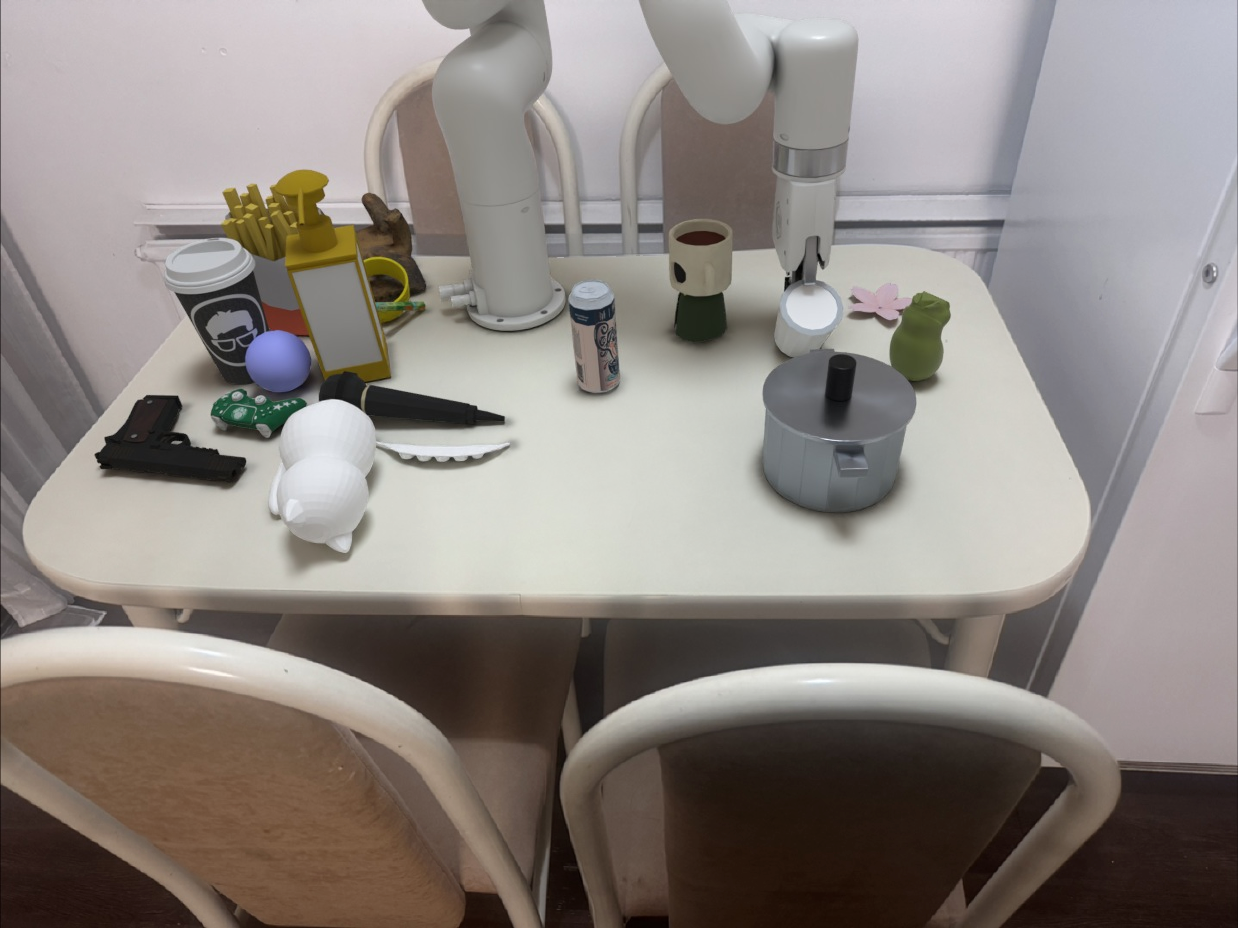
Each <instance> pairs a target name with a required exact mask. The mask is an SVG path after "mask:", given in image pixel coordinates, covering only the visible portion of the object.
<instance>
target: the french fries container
mask: <svg viewBox="0 0 1238 928" xmlns="http://www.w3.org/2000/svg"><path fill="white" fill-rule="evenodd" d="M276 184H277V183H276ZM276 184H272V185H270V186H269V191H270V193H271V195H269V196H266V198H265V202H264V200H263V196H262V194H261V192H260V189H259V187H258V186H259V185H258V184H257V183H250V184H248V185H247V186H246V189H247V192H243V193H241V194H240V195H239V194H238V191H237V188H236V187H227V188H225V189H224V190H223V191H222V195H223V198H224V200H225V202H226V205H227V208H228V210H229V212H228V213H227V214H226V215H225V216H224V221H222V222H221V223H220V225H221V228H222V229H223V231H224V233H225V238H228V239H233V240H235V241H237V242H239V243H240V245H241V246H242V247H243V248H245V249H246V250H247V251H248V252H249V253H250V254H251V255H252V257H253V258H254V260H255V267H254V269H253V271H254V275H255V279H256V283H257V287H258V290H259V294H260V298H261V301H262V305H263V309H264V312H265V316H266V320H267V323H268V327H269V330H271V331H277V330H280V331H285V332H288V333H291V334H294V335H296V336H309V334H308V331H307V328H306V325H305V322H304V319H303V316H302V313H301V311H300V308H299V305H298V302H297V299H296V296H295V293H294V290H293V287H292V285H291V282H290V279H289V276H288V273H287V268H286V267H285V258H286V239H287V236H289V235H295V234H299V233H298V230H297V227H296V224H297V222H298V221H299V213H298V207H296V206H291V205H289V204H288V202H287V200H286V197H285V196H282V195H280V194H277V193H276V191H275V188H274V187H275V186H276ZM265 204H266V205H265ZM320 209H321V208H320ZM320 209H318V211H319V214H321V211H320Z"/></svg>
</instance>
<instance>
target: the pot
mask: <svg viewBox="0 0 1238 928" xmlns="http://www.w3.org/2000/svg"><path fill="white" fill-rule="evenodd" d="M816 352H836V351H835V349H834V348H820V349H816V350H810V353H816ZM907 427H908V425H907V426H906V427H905V428H904V429H903V430H901V431H900V432H898V433H897V434H895V435H893V436H891V437H889V438H887V439H884V440H881V441H878V442H874V443H869V444H863V445H832V444H825V443H820V442H816V441H812V440H808V439H806V438H803V437H800V436H798V435H796V434H794V433H792V432H790V431H788V430H786V429H785V428H783V427H782V426H781V425H779V424H778V423H777V422H776V421H775V420H774V419H773V418H772V417H771V416H770V414H769V413H768V412H767V410H766V409H765V415H764V429H763V446H762V466H763V467H762V469H763V473H764V476H765V478H766V480H767V482H768V484H769V485H770V486H771V487H772V488H773V490H774V491H775V492H776V493H778V495H780V496H781V497H783V498H784V499H785V500H787V501H789V502H791V503H792V504H795V505H797V506H799V507H802V508H805V509H807V510H808V509H809V510H812V511H817V512H822V513H823V512H824V513H840V514H841V513H850V512H857V511H861V510H864V509H867V508H869V507H871V506H874V505H875V504H877V503H879V502H880V501H882V500H883V499H884V498H885V497H886V496H887V495H888V494H889V493H890V492H891V490H892V489H893V486H894V484H895V482H896V481H895V480H896V478H897V473H898V471H899V465H900V461H901V460H900V459H901V456H902V452H903V451H902V450H903V446H904V441H905V436H906V431H907Z"/></svg>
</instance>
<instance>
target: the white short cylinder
mask: <svg viewBox="0 0 1238 928" xmlns="http://www.w3.org/2000/svg"><path fill="white" fill-rule="evenodd" d="M842 300H843V299H842V297H841V296H840V294H839V293H838V292H837V290H836V289H835V288H834V287H832V286H831V285H829V284H828V283H826V282H824V281H821V280H817V279H816V284H815V285H807V286H804V285H803V284H802V280H799V281H797V282H795V283H793V284H791V285H790V286H788V288H787V289H786V290H785V292H784V291H783V293H782V294H781V298H780V301H779V307H778V312H777V317H776V323H775V329H774V333H773V336H774V341H775V345H776V346H777V347H778V349H779V350H780V352H782V353H783V354H785V355H786V356H788V357H789V358H794V357H797V356H800V355H805V354H809V353H810V350H816V349H821V348H822V346H823V345H824V343H825V342H826V341H827V339H828V338H829V337H830V335H831V334H832V333H833V331H835V329H836V327H838V325H839V323H840V322H841V321H842V319H843V314H844V305H843V301H842Z"/></svg>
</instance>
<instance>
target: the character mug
mask: <svg viewBox="0 0 1238 928" xmlns="http://www.w3.org/2000/svg"><path fill="white" fill-rule="evenodd" d="M733 243H734V237H733V228H732V227H730V225H729V224H728V223H725V222H723V221H720V220H717V219H711V218H694V219H689V220H684V221H682V222H679V223H677V224H675V225H674V226H673V227H672V228H671V229H669V231H668V271H669V284H670V286H671V288H672V289H673V290H674V291H676V292H677V293H678V294H677V300H676V306H675V314H674V322H673V323H674V324H673V330H675V335H676V336H677V337H678V338H679V339H681V340H682V341H685V342H689V343H694V344H695V343H701V342H708V341H712V340H715V339H718V338H720V337H722V336H723V335H725V334H726V332H727V330H728V321H727V311H726V303H725V295H724V293H723V292H724V291H726V290H727V289H728V288H729V287H730V286H731V285H732V280H733V279H732V277H733V250H734V249H733V248H734V247H733Z"/></svg>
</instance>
